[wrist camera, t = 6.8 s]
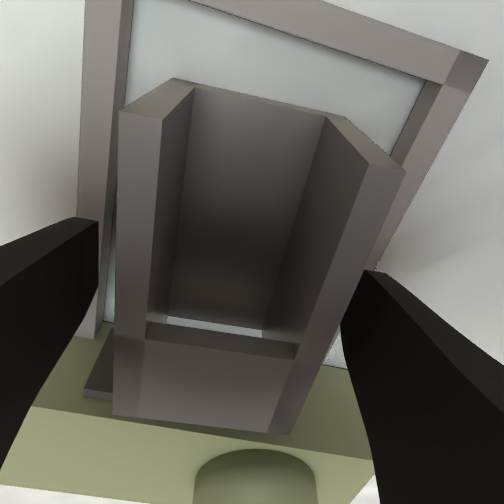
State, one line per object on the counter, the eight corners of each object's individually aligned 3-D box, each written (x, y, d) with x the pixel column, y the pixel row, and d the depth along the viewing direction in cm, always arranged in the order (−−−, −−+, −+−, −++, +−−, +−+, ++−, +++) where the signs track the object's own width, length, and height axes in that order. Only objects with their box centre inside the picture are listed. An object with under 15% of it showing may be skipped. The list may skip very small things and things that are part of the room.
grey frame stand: (537, 82, 10) (745, 119, 6) (315, 435, 19) (334, 556, 14) (3, -107, 8) (-271, -260, 4) (27, 388, 17) (-49, 511, 12)
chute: (173, 77, 10) (118, 110, 6) (343, 115, 11) (406, 171, 6) (153, 299, 14) (112, 414, 10) (278, 318, 15) (290, 435, 11)
